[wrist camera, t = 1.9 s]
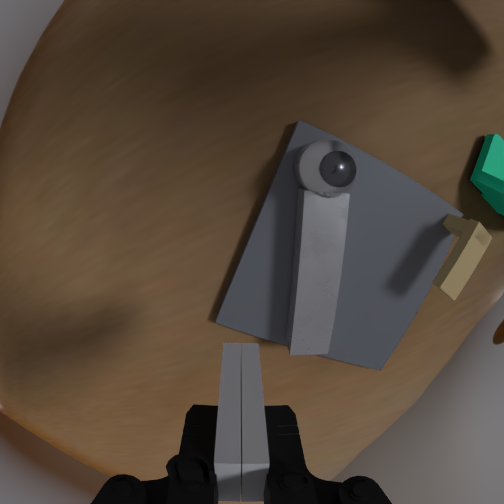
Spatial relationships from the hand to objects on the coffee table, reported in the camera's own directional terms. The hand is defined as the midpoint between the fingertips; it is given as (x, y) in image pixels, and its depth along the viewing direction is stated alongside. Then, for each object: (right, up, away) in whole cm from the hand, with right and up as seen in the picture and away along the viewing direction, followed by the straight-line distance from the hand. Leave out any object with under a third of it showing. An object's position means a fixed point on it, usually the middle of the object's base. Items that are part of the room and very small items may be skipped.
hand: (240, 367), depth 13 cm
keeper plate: (+11, +4, +18) cm, 22 cm away
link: (+7, +6, +16) cm, 18 cm away
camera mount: (+34, +15, +16) cm, 40 cm away
